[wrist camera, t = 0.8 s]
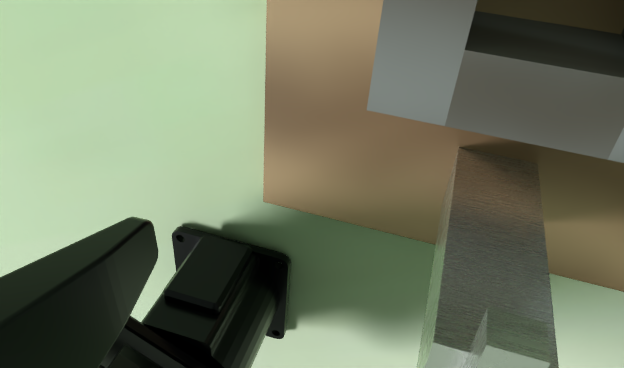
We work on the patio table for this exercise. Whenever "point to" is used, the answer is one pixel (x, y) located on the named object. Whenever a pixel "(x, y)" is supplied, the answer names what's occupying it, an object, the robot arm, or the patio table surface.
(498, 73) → the chuck stand
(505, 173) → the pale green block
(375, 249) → the patio table surface
